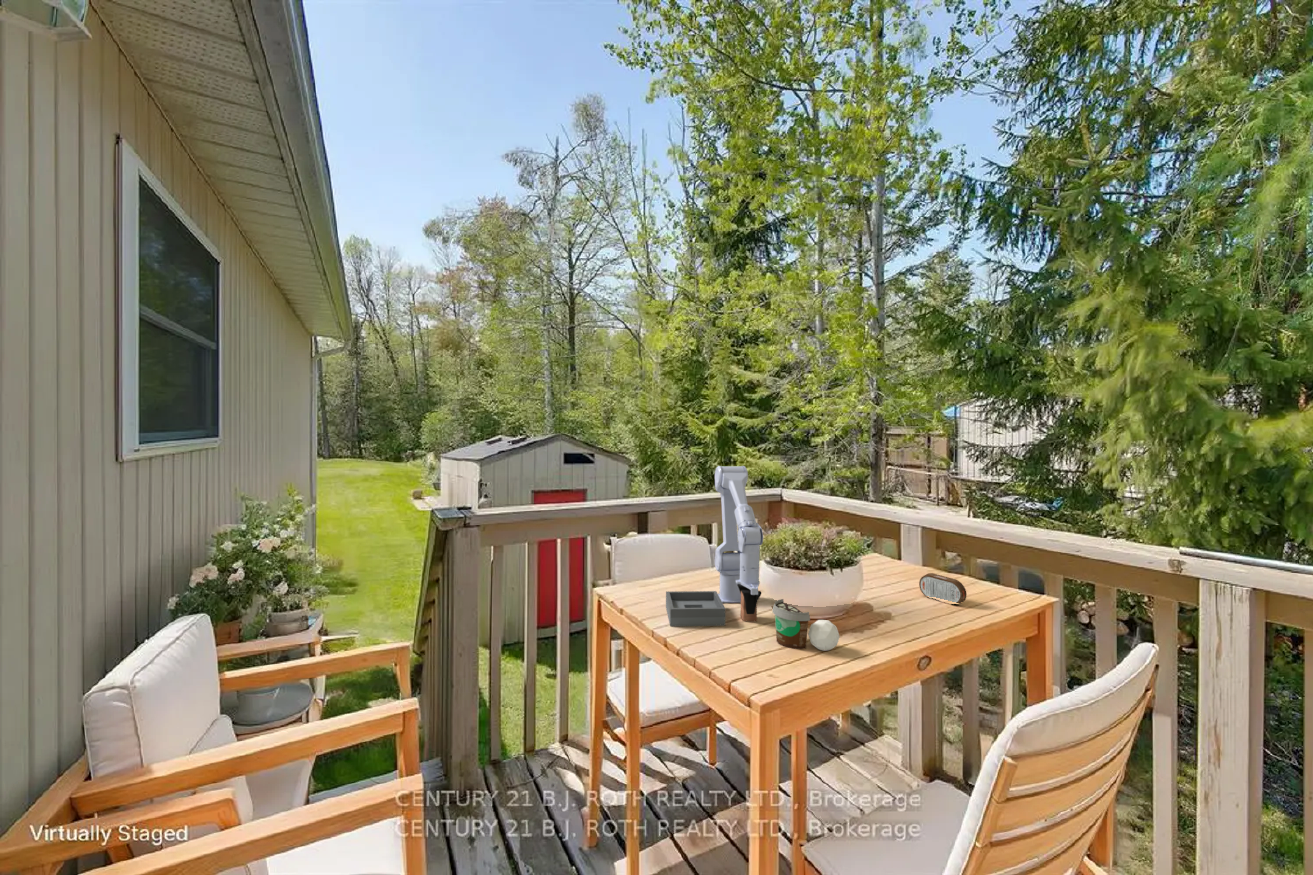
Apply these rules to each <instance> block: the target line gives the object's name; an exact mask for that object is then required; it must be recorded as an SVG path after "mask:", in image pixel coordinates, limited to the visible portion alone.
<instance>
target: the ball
mask: <svg viewBox="0 0 1313 875" xmlns="http://www.w3.org/2000/svg"><path fill="white" fill-rule="evenodd" d="M808 629H809V630H808V632H807V636H808V638H809V640H810V642H809V643H810V644H811V645H812V646H813V647H815V648H816V649H817V650H819V651H825V652H826V651H827V652H828V651H830V650H833V649H834V648H835V647H837V645H838V643H839V641H840V633H839V630H838V628H837V626H836V625H835V624H834V623H833V622H832V621H830V620H828V619H827V620H826V619H817V620H816V621H815V622H813V623H811V624H810V627H809V628H808Z"/></svg>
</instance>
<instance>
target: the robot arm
mask: <svg viewBox="0 0 1313 875" xmlns="http://www.w3.org/2000/svg"><path fill="white" fill-rule="evenodd" d="M748 481H749V472H748V469H747V467H746V466H745V465H741V466H735V465H734V466H731V465H729V466H722V465H718V466H717V467H715V471H714V488H715V491H716V492H717V493H720V500H721V504H720V505H721V519H722V521H721V522H722V523H721V524H722V539H723V540H722V541H723V542H722V543H720V545H718V546H717V547H716V548H715V555H714V566H715V570H716V571H717V572H718V573H719V593H717V594H718V595H719V597H720V599H721V601H722V603H723V604H727V603H728V604H729V603H741V592H742V594H743V596H744V600H745V606H746V612H747V614H754V612H755V609H756V605H757V606H758V601H759V599H760V597H761V595H762V592H761V590H759V586H760V583H761V582H760V546H762V545H763V542H764V532H763V528H762V527H761V525H760V524H759V523H758V522H757V520H756V517H755V516H756V515H755V514H754V513H755V512H754V509H753V507H752V506H751V505H749V504H748V499H747V494H746V493H747V492H746V486H747V483H748Z"/></svg>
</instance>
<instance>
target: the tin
mask: <svg viewBox="0 0 1313 875" xmlns="http://www.w3.org/2000/svg"><path fill="white" fill-rule="evenodd" d="M918 583H919V585H918V586H919V590H920V592H921V593H922V595H924V596H925V597H926V596H929V597H936V598H940V599H944V600H948V601H952V602H956V603H960V604H962V603H961V602H963V603H964V602H965V600H967V595H968V594H967V589H966V588H965V586H964V584H963V583H962V582H961V581H959V580H958V579H956V578H953V577H948V576H945V575H941V574H938V573H933V572H929V573H926V574H924V575H922V576H921V577H920V579H919V582H918Z"/></svg>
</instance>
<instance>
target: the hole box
mask: <svg viewBox="0 0 1313 875" xmlns="http://www.w3.org/2000/svg"><path fill="white" fill-rule="evenodd" d="M718 594H719V593H718V592H717V591H716V590H699V591H697V590H695V591H694V590H692V591H691V590H689V591H686V590H683V591H681V590H680V591H677V590H675V591H665V609H666V614H667V618H668V623H669V626H670V627H711V626H713V627H717V626H718V627H720V626H721V627H722V626H723V627H724V626H726V606H725V605H724V603H722V601H721V599H720V597H719V595H718Z"/></svg>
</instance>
